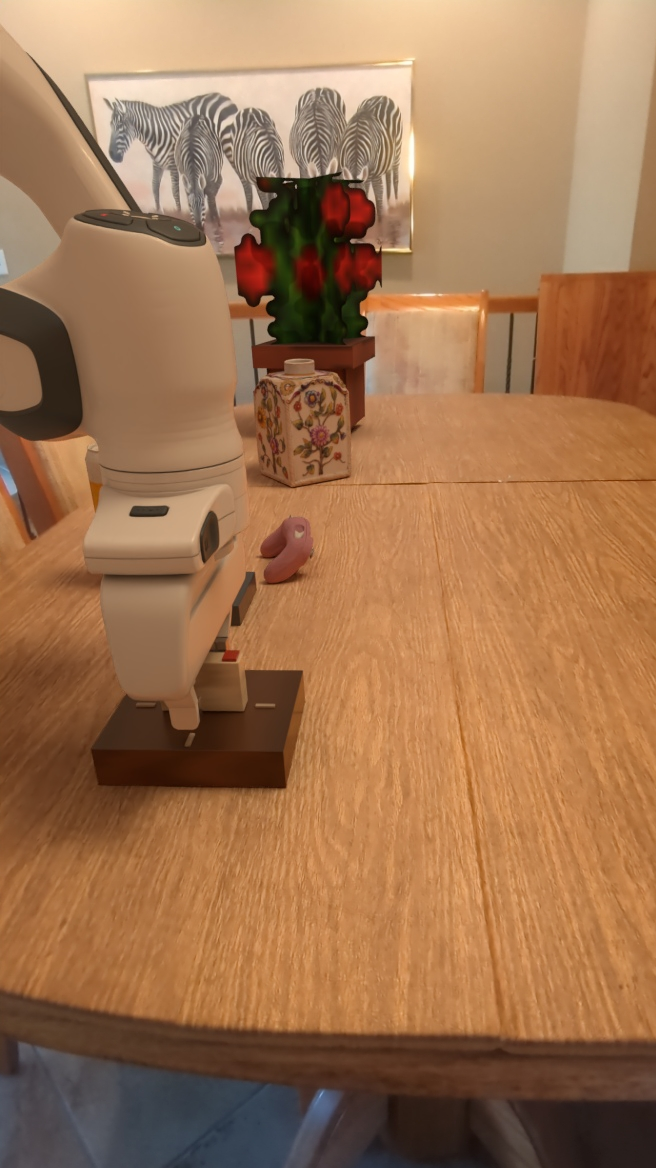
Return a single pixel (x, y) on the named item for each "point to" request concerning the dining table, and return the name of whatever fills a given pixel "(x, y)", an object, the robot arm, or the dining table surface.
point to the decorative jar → (302, 425)
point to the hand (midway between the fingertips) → (204, 688)
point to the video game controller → (287, 549)
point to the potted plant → (313, 277)
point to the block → (243, 599)
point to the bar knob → (221, 682)
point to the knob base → (206, 740)
